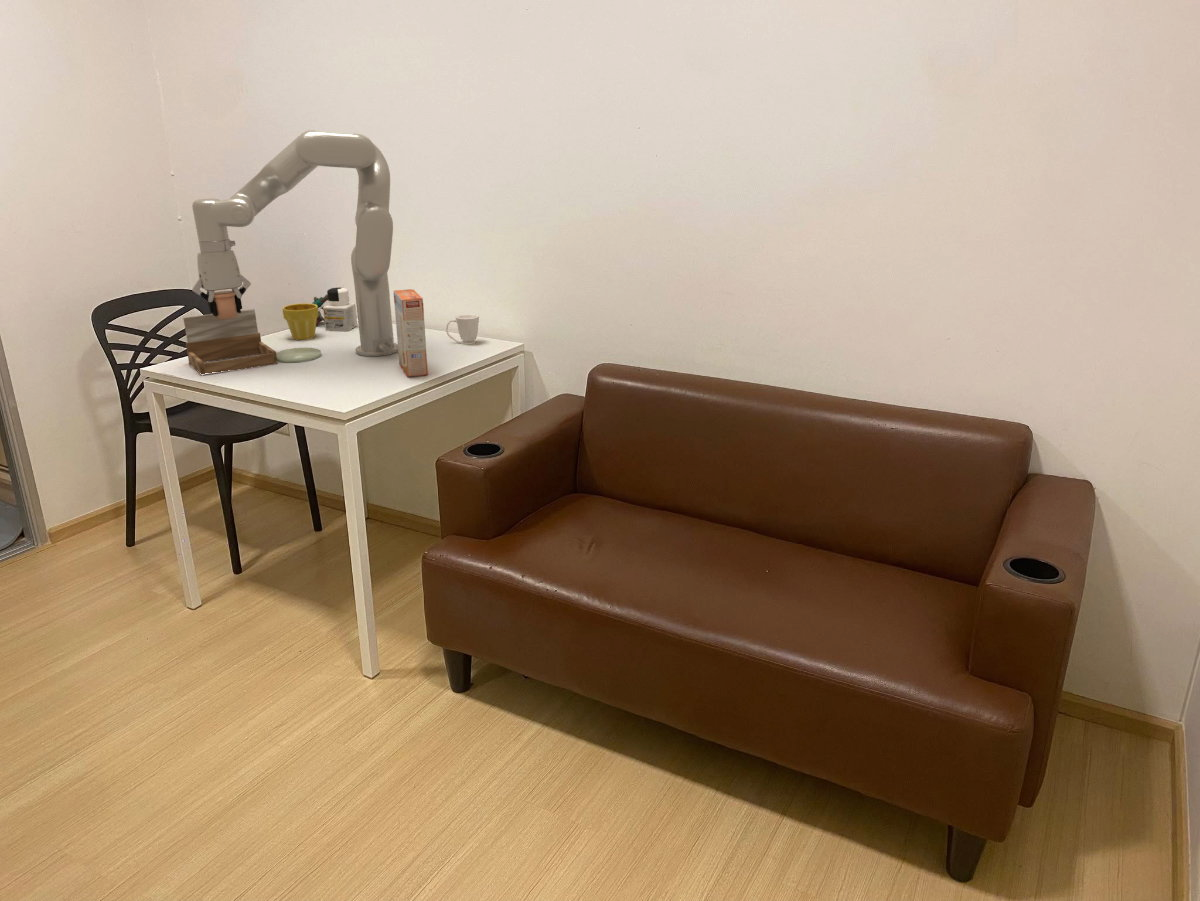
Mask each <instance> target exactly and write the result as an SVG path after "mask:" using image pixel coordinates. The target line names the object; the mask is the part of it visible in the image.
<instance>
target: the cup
mask: <svg viewBox="0 0 1200 901" xmlns="http://www.w3.org/2000/svg"><path fill="white" fill-rule="evenodd" d="M479 320H480V315H477V314H470V313H465V314H458V315H457V316H455V319H451V320H449V321H448V322H447V325H446V334H447V336H448V337H449V338H450V339H451V340H453V341H454V342H456V343H459V344H463V345H475V344H476V343H477V341H476V339H477V336H478V332H479V322H480V321H479ZM452 322H453V323H456V325H457V331H458V334H459V337H460V339H461V341H460V340H458V339H456V338H454V337H452V336H451V335H450V334H449V331H448V328H449V325H450V323H452Z"/></svg>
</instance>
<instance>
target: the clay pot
mask: <svg viewBox="0 0 1200 901" xmlns="http://www.w3.org/2000/svg"><path fill="white" fill-rule="evenodd" d="M235 295H236V294H235V292H234V291H232V290H217V291H214V297H213V299H214V302H216V308H217V313H218V316H216V317H217V318H218V319H230V318H235V317H237V316H238V312H237V307H236V301H235Z"/></svg>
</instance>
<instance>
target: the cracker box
mask: <svg viewBox="0 0 1200 901" xmlns="http://www.w3.org/2000/svg"><path fill="white" fill-rule="evenodd" d="M423 298H424V297H422V296H421V295H420V294H419V293H418V292H417V291H416V290H415V289H397V290H396V289H395V290H393V301H394V302H393V303H394V311H395V312H394V314H395V326H396V336H397V337H396V338H397V340H396V341H397V344H398V362H399V363H398V364H399V366H400V368H401V369H402V371H403V372H404V374H405V376H407V377H408V378H409V377H421V376H428V375H429V369H428V355H427V354H428V352H427V341H426V338H427V337H426V327H425V313H424V312H425V310H424V299H423Z"/></svg>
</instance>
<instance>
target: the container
mask: <svg viewBox="0 0 1200 901" xmlns="http://www.w3.org/2000/svg"><path fill="white" fill-rule="evenodd" d="M326 292H327V293H326V295H328V300H327V303H328V304H327V305H324V307H323V306H322V307H323V309H322V312H323V318H324V320H325V322H324V325H325V326H324V327H325V331H327V330H330V331H329V332H331V331H333V332H334V331H335V332H350V331H351V330H352V328H353V329H354V327H355V326H356V327H358V315H357V306H356V302H350V295H349V293H350V292H349V289H347V288H346V287H331V288H329V289H328V290H327V291H326ZM356 327H355V328H356Z"/></svg>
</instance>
